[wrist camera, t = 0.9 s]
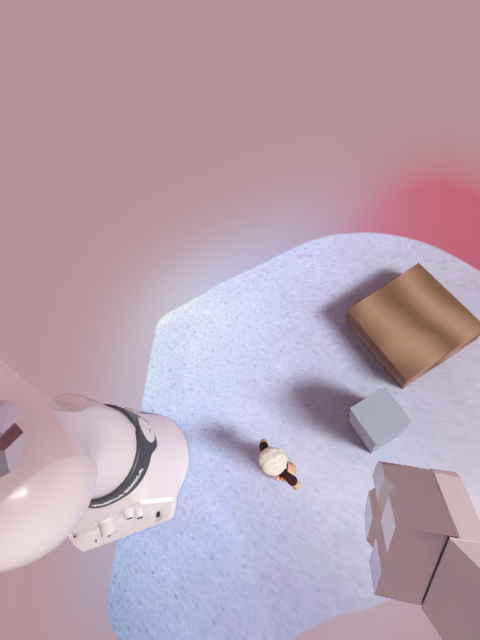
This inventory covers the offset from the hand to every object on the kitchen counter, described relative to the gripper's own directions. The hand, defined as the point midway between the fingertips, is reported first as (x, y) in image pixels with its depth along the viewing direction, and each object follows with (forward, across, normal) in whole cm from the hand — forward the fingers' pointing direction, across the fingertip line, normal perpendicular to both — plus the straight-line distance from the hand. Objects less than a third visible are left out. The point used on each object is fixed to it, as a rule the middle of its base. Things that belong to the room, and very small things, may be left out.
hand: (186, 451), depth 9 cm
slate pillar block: (+42, +16, -30) cm, 54 cm away
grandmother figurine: (+38, +4, -36) cm, 53 cm away
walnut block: (+52, +20, -19) cm, 59 cm away
